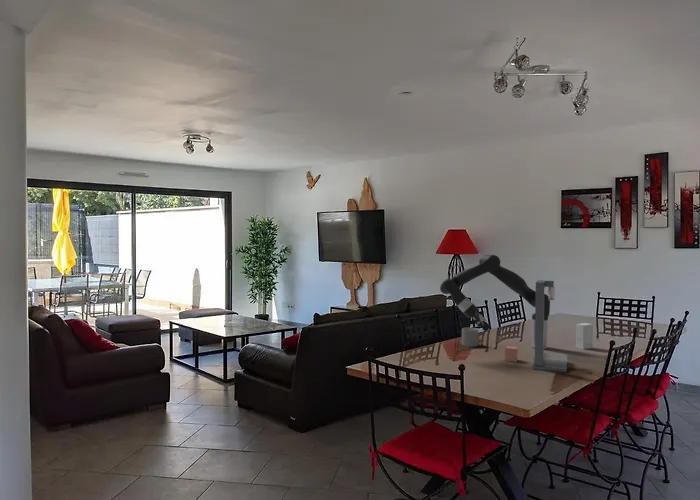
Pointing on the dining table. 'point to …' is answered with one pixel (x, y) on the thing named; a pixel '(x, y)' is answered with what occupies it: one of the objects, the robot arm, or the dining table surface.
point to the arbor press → (543, 359)
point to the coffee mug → (470, 337)
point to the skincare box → (584, 336)
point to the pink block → (511, 354)
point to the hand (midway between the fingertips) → (488, 329)
